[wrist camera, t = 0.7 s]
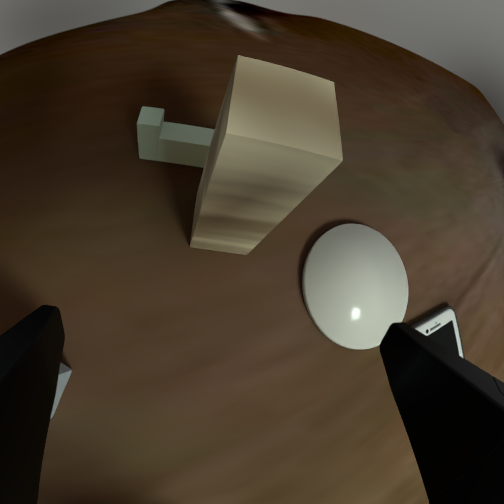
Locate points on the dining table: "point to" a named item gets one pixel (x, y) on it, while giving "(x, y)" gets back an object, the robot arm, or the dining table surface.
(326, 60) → the dining table surface
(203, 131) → the fence
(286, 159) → the beech block
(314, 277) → the coaster
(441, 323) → the cell phone
